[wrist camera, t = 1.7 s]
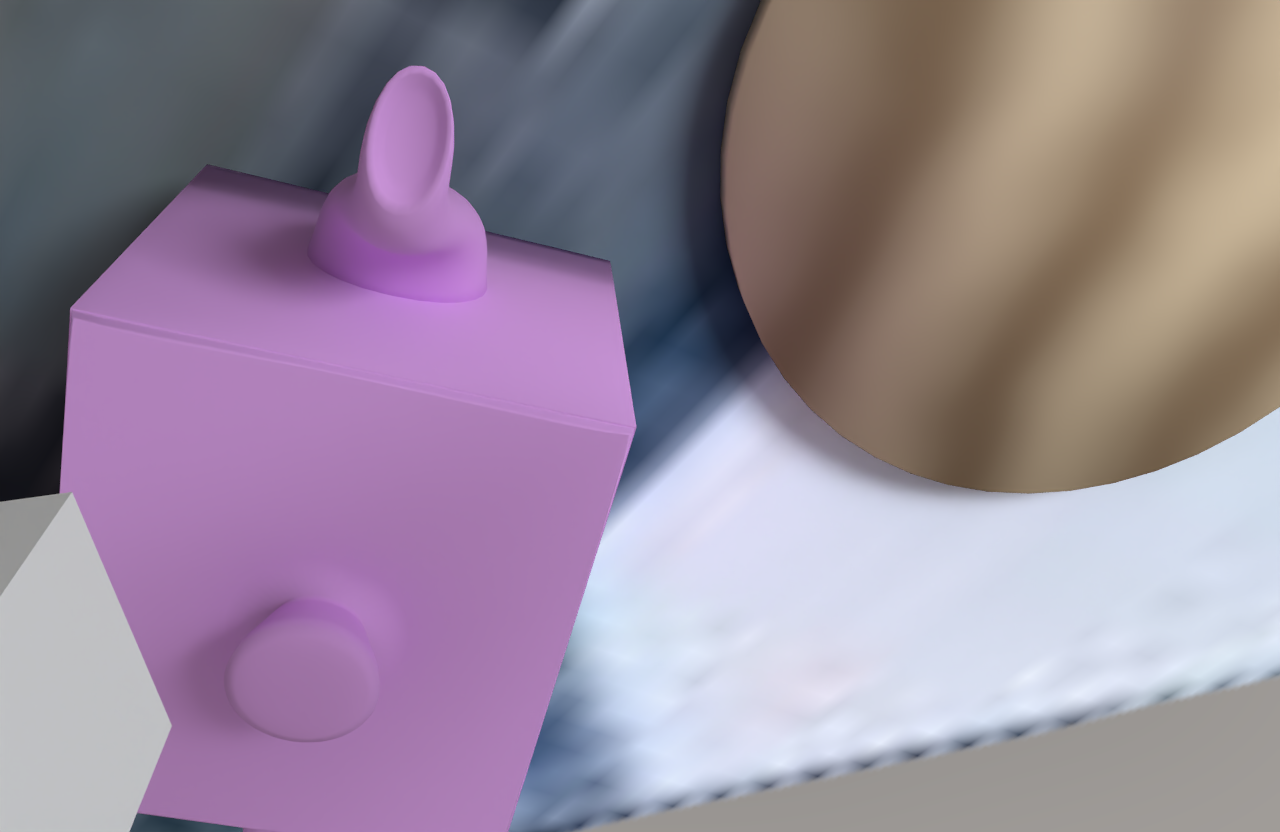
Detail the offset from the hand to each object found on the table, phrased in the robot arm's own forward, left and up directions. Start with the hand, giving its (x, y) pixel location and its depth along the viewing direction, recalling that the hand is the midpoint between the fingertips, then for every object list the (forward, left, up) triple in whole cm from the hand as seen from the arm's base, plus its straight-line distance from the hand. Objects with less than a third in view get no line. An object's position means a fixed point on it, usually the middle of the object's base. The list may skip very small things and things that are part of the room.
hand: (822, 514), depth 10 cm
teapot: (-6, -8, -21) cm, 23 cm away
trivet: (+12, 0, -20) cm, 24 cm away
